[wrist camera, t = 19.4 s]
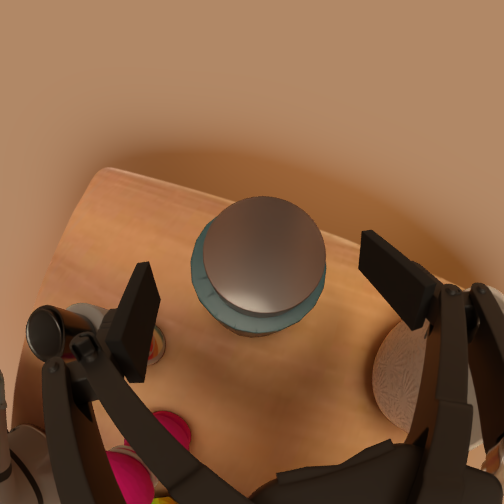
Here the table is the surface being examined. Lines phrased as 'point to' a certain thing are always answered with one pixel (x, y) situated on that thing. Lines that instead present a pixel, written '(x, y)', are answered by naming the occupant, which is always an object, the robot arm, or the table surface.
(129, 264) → the table surface
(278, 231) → the stopper
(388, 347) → the planter
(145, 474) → the pepper mill
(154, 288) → the robot arm
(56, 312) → the spray bottle
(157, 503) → the apple
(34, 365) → the table surface
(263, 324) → the dark green pencil cup
